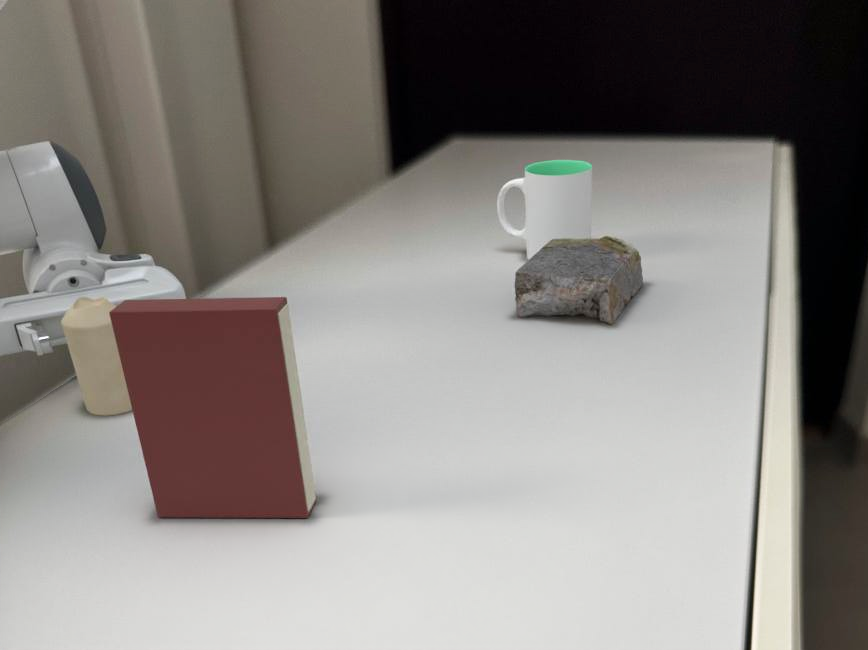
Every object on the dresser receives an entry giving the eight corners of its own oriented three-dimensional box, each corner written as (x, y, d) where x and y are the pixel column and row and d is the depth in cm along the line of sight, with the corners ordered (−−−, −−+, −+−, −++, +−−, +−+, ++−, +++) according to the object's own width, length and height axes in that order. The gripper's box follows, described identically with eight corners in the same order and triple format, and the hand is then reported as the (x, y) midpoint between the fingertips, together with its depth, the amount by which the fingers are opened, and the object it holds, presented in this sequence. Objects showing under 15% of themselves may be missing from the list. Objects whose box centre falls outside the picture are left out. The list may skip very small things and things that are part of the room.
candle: (76, 405, 101) (46, 302, 96) (129, 388, 104) (102, 287, 98) (101, 421, 98) (71, 315, 92) (155, 403, 101) (129, 299, 95)
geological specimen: (510, 274, 111) (555, 227, 122) (515, 330, 115) (557, 280, 125) (608, 278, 107) (645, 229, 118) (610, 335, 111) (645, 283, 122)
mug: (488, 262, 132) (484, 173, 126) (508, 244, 138) (505, 158, 132) (581, 267, 128) (582, 176, 122) (597, 248, 134) (599, 160, 128)
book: (157, 517, 82) (108, 311, 73) (170, 500, 85) (124, 299, 76) (308, 518, 81) (277, 308, 72) (317, 501, 83) (288, 296, 75)
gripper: (-39, 284, 106) (-32, 325, 96) (164, 251, 112) (191, 285, 102) (-19, 345, 110) (-10, 390, 99) (177, 309, 116) (205, 348, 106)
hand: (94, 337), depth 101 cm, fingers open, 8 cm apart
